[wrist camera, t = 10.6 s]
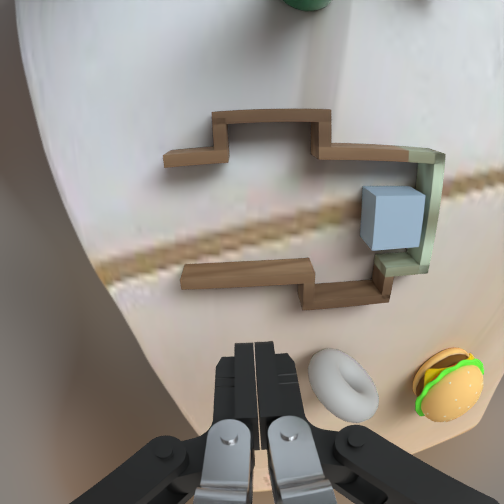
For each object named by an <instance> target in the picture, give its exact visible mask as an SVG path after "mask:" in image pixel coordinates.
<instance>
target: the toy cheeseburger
mask: <svg viewBox="0 0 504 504" xmlns="http://www.w3.org/2000/svg"><path fill="white" fill-rule="evenodd" d="M483 374H484V369H483V363H482V362H481V361H480V360H478V359H475V358H474V356H473V355H472V354H471V353H469V355H468V353H467V352H466V351H465V350H463V349H460V348H449V349H446V350H443V351H441V352H439V353H437V354H436V355H434V356H433V357H431V358H430V359H429V360H427V361H426V362H425V363H424V364H423V365H422V367H421V368H420V369H419V370H418V372H417V373H416V375H415V377H414V380H413V392H414V394H415V395H416V396H417V399H416V402H415V410H416V412H417V413H418V415H420V416H426V417H427V418H428V419H430V420H432V421H434V422H448V421H451V420H454V419H456V418H458V417H460V416H461V415H463V414H464V413H466V412H467V411H468V410H469V409H470V408H471V407H472V406H473V405H474V404H475V403H476V402H477V400H478V398H479V396H480V395H481V391H482V389H483Z"/></svg>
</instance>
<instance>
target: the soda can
mask: <svg viewBox="0 0 504 504" xmlns="http://www.w3.org/2000/svg"><path fill="white" fill-rule="evenodd" d="M283 1H284V2H285V3H287V4H288V5H290V6H291V7H294V8H296V9H299V10H304V11H315V10H319V9H322V8H324V7H326V6H327V5H328V4H329V3H330V2H331V1H332V0H283Z"/></svg>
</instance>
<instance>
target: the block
mask: <svg viewBox="0 0 504 504" xmlns="http://www.w3.org/2000/svg"><path fill="white" fill-rule="evenodd" d="M425 196H426V195H424V194H422V193H420V192H419V191H417V190H415V189H414V188H412V187H410V186H363V191H362V212H361V228H360V237H361V238H362V239H363V240H364V242H365V243H366V244H367V245H368V246H369V248H370V249H371V250H372V251H374V250H387V249H399V248H412V247H419V243H420V237H421V230H422V222H423V214H424V205H425Z"/></svg>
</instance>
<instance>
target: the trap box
mask: <svg viewBox="0 0 504 504" xmlns="http://www.w3.org/2000/svg"><path fill="white" fill-rule="evenodd" d="M255 122H311V154H312V155H313V156H314V157H316V158H317V159H319V160H374V161H397V162H415V163H418V168H417V180H416V190H417V191H419V192H420V193H422V194H424V195H426V196H425V205H424V214H423V222H422V230H421V237H420V243H419V247H412V248H408V249H407V252H400V253H384V254H375V261H374V268H373V274H372V280H360V281H348V282H335V283H321V284H315V271H314V269H313V266H312V264H311V261H310V259H309V258H298V259H280V260H261V261H242V262H223V263H203V264H185V266H184V269H183V272H182V275H181V278H180V283H181V289H182V290H185V289H210V288H232V287H252V286H270V285H287V284H298V296H299V299H300V303H301V307H302V310H315V309H327V308H338V307H349V306H359V305H368V304H378V303H387V302H389V299H390V295H391V290H392V285H393V279H394V276H404V275H415V274H425V273H428V269H429V264H430V260H431V255H432V250H433V245H434V239H435V234H436V228H437V222H438V216H439V209H440V202H441V194H442V186H443V177H444V166H445V154H444V153H441V152H438V151H435V150H432V149H429V148H418V147H406V146H392V145H375V144H352V143H331V110H330V109H253V110H233V111H218V112H212V126H213V142H214V146H212V147H200V148H189V149H178V150H171V151H169V152H167V153H166V154H164V155H163V161H164V168H168V167H178V166H189V165H201V164H215V163H228V161H229V140H228V124H235V123H255Z"/></svg>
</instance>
